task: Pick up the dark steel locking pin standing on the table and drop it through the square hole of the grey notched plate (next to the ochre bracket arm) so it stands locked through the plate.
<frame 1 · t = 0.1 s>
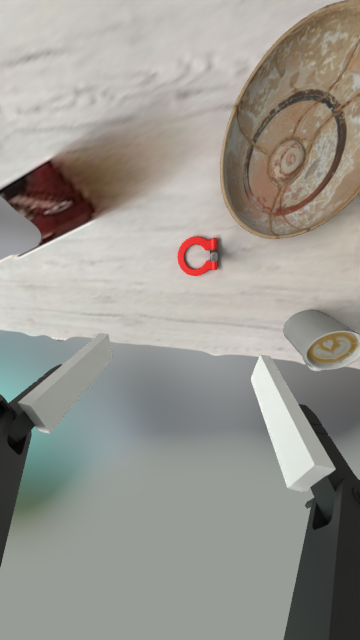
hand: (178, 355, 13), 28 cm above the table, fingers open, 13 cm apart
ceramic bowl: (285, 164, 26), on the table
tow hook: (197, 256, 35), on the table
coffee mug: (301, 332, 39), on the table
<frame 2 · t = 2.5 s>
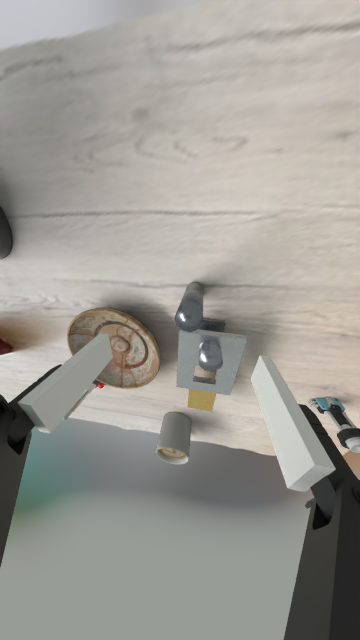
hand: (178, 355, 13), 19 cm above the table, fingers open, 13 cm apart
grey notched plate: (206, 344, 35), on the table
ceramic bowl: (122, 342, 39), on the table
push button: (321, 399, 37), on the table
locking pin: (194, 290, 29), on the table
tow hook: (89, 376, 48), on the table
coffee mug: (177, 422, 52), on the table
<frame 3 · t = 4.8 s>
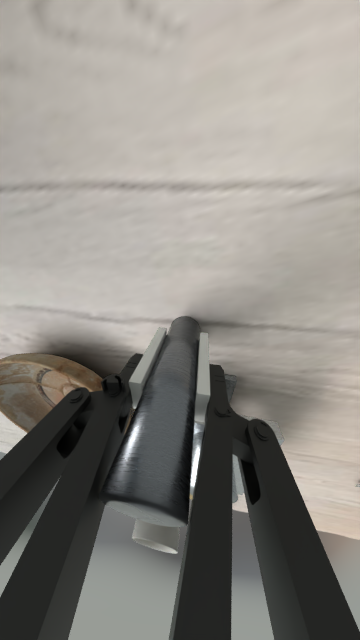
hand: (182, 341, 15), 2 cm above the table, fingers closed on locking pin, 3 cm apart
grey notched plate: (205, 404, 22), on the table
ceramic bowl: (82, 390, 27), on the table
locking pin: (185, 329, 17), on the table, touching gripper
coffee mug: (166, 479, 40), on the table
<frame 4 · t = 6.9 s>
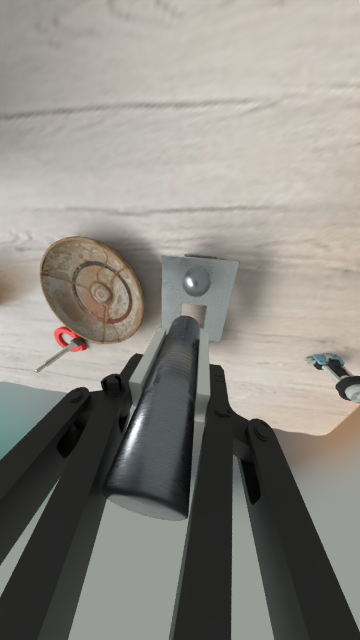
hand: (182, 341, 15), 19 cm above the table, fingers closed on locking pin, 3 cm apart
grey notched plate: (196, 290, 31), on the table
ceramic bowl: (104, 292, 35), on the table
push button: (319, 357, 35), on the table
locking pin: (185, 328, 17), point 17 cm above the table, touching gripper
tow hook: (71, 338, 44), on the table
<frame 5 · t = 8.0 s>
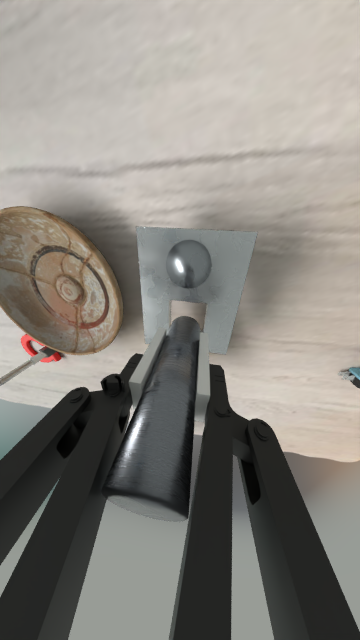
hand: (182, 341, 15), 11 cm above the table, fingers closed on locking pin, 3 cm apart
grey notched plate: (192, 284, 23), on the table
ceramic bowl: (75, 289, 27), on the table
push button: (356, 370, 26), on the table
locking pin: (185, 329, 17), point 9 cm above the table, touching gripper
tow hook: (42, 346, 36), on the table
when the fingers open (8 cm above the table, at t = 8.9 s): locking pin drops 5 cm, on the table.
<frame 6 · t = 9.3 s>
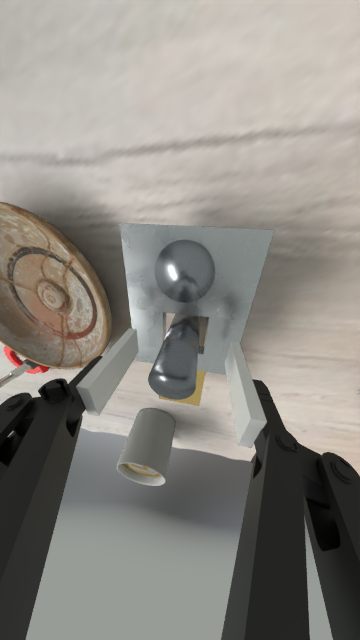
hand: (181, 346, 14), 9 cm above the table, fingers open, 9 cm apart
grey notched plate: (191, 291, 20), on the table
ceramic bowl: (59, 295, 24), on the table
locking pin: (189, 310, 22), on the table
tow hook: (28, 356, 33), on the table
coffee mug: (156, 423, 38), on the table
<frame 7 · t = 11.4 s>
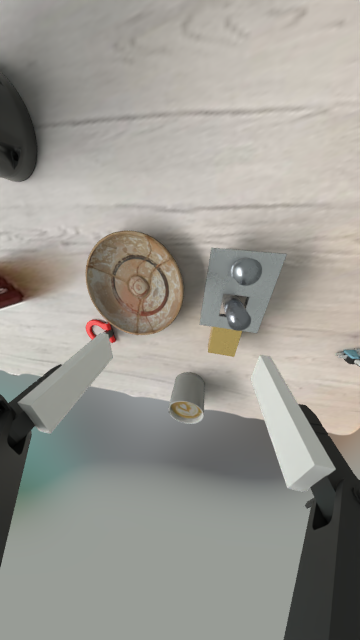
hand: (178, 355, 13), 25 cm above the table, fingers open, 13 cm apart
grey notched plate: (232, 284, 33), on the table
ceramic bowl: (141, 285, 37), on the table
push button: (349, 352, 35), on the table
locking pin: (228, 297, 34), on the table
tow hook: (101, 331, 46), on the table
coffee mug: (189, 386, 50), on the table
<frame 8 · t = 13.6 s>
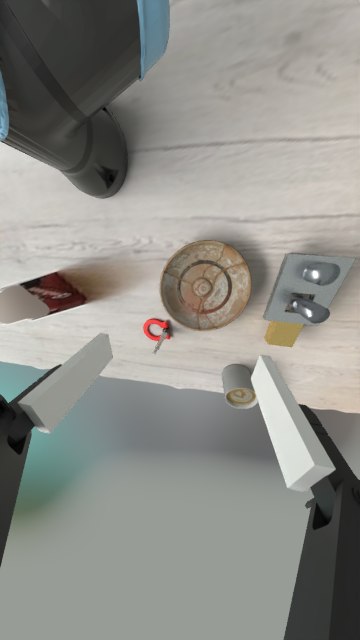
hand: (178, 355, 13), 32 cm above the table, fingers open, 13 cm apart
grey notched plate: (290, 283, 37), on the table
ceramic bowl: (203, 287, 42), on the table
locking pin: (285, 294, 39), on the table
tow hook: (157, 329, 51), on the table
coffee mug: (234, 376, 55), on the table
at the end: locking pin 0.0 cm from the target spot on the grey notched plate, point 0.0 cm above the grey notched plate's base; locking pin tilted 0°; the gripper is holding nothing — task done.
